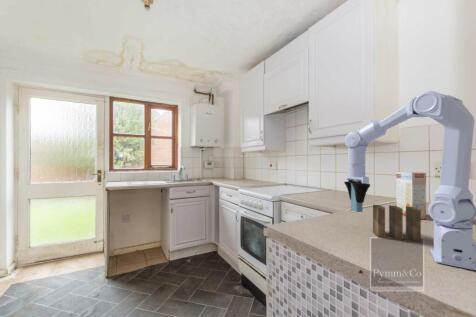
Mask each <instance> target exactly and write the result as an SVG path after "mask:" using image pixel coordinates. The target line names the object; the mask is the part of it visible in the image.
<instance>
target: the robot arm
mask: <svg viewBox="0 0 476 317" xmlns="http://www.w3.org/2000/svg"><path fill="white" fill-rule="evenodd" d="M412 118H431V119H433V120H434V121H436V122H437V123H439V124H440V125H441V126H443V128H444V129H443V139H442V150H441V152H442V154H441V166H440V174H439V175H440V177H439V186H438V188H437V189H436V190H435V192H434V193H433V199H432V201H431V202H430V203H429V205H428V208H427V212H428V214H429V216H430V218H432V221H433V248H430V249H429V252H430V254H431V256H432V258H433V260H434V262H435V263H437V264H442V265H447V266H452V267H458V268H461V269H468V270H472V271H476V241H475V240H474V236H473V234H474V233H473V231H474V229H473V228H474V227H473V223H472V221H473V220H474V219H475V218H476V206H475V204H474V199H473V197H474V196H473V195H474V194H472V192H471V190H469V183H470V173H471V172H470V170H471V160H472V151H473V150H472V149H473V138H474V126H475V117H474V115H473V114H472V113H471V112H470V110H469V109H468V108H467V107H466V106H465V104H464V103H463V100H462V99H459V98H458V97H455V96H453V95H448V94H443V93H440V92H438V91H435V90H427V91H423V92H421V93H420V94H418V96H415V97H412V98H411V99H410V100H409V101H408V102H407V103H406V104H404V105H403V106H401V107H400V108H399V109H397V110H395V111H394V112H392V113H391V114H389V115H388V116H386V117H385V118H383V119H382V120H374V121H373V120H371V121H369V122H368V124H367V125H365V126H363V127H361V128H358V129H357V130H356V131H350V132H348V133H347V134H346V135H345V138H344V144H345V146H346V147H347V175H346V176H345V180H346V181H344V185H345V186H346V189H347V192H348V196H349V200H350V201H351V183H352V185H353V188H354V191H355V197H356V202H357V203H363V204H364V201H365V199H366V194H367V192H368V190H369V188H370V187H371V184H370V178H369V176H366V151H367V148H368V146H369V144H370V143H371V142H373V141H375V140H377V139H380V138H381V137H382V136H384V135H386V133H387V130H388V129H390V128H393V127H395V126H397V125H399V124H402V123H403V122H406V121H408V120H409V119H412Z"/></svg>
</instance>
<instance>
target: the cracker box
mask: <svg viewBox="0 0 476 317" xmlns="http://www.w3.org/2000/svg"><path fill="white" fill-rule="evenodd" d="M395 206H397V207H400V208H402V209H403V216H405V217H406V206H409V207H415V208H418V209H420V210H421V220H426V219H427V172H417V171H396V205H395Z"/></svg>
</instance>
